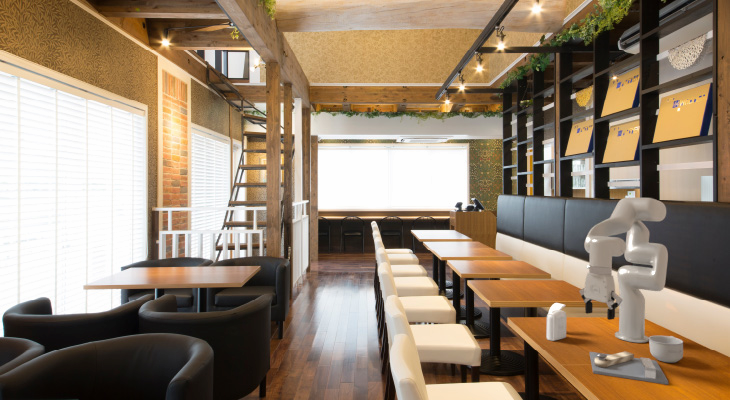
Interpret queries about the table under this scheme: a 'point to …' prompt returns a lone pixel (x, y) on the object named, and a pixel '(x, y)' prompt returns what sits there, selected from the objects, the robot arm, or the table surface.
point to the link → (612, 359)
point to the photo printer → (556, 325)
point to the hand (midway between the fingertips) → (599, 315)
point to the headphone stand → (556, 307)
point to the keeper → (648, 368)
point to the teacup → (666, 348)
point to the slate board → (628, 370)
